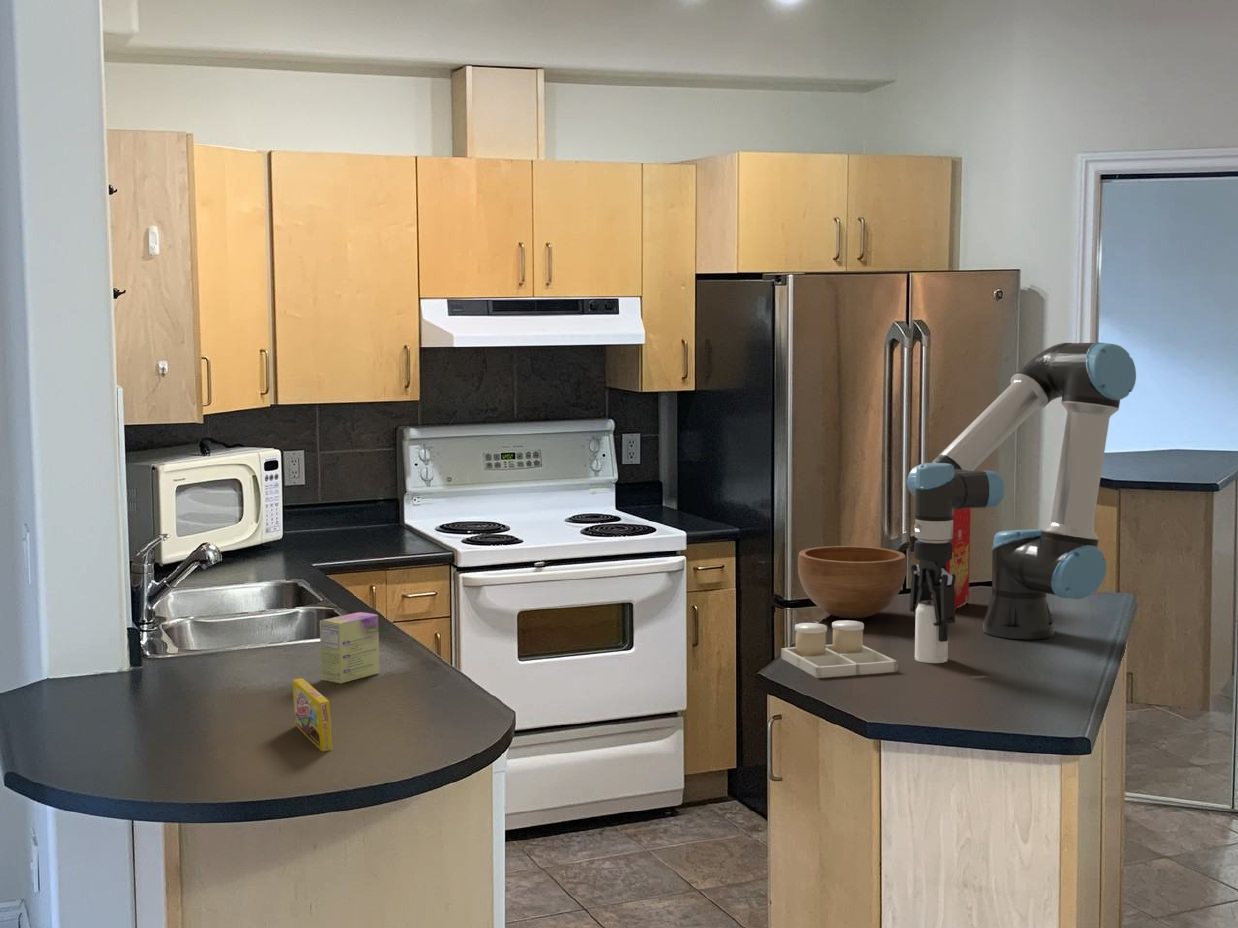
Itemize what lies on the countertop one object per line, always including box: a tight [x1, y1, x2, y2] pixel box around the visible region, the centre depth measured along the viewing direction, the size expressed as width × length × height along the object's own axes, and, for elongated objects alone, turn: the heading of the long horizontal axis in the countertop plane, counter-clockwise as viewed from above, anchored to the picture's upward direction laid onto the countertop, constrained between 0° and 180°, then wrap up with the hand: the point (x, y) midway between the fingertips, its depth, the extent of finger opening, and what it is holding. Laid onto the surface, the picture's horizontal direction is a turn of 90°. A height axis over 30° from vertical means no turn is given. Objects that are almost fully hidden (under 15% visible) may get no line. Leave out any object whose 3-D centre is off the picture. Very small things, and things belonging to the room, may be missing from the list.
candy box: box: [292, 677, 333, 752], centre depth 223 cm, size 16×2×8 cm, turn 28°
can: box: [914, 600, 949, 664], centre depth 275 cm, size 6×6×12 cm
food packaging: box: [930, 508, 972, 608], centre depth 329 cm, size 15×5×25 cm, turn 147°
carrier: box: [780, 643, 899, 679], centre depth 271 cm, size 17×17×2 cm
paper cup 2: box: [831, 619, 865, 654], centre depth 276 cm, size 6×6×7 cm
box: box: [319, 611, 380, 684], centre depth 263 cm, size 10×6×12 cm, turn 145°
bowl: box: [797, 545, 907, 620], centre depth 318 cm, size 25×25×15 cm
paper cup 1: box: [794, 622, 828, 657], centre depth 273 cm, size 6×6×7 cm
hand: (931, 652), depth 275 cm, fingers closed on can, 6 cm apart
